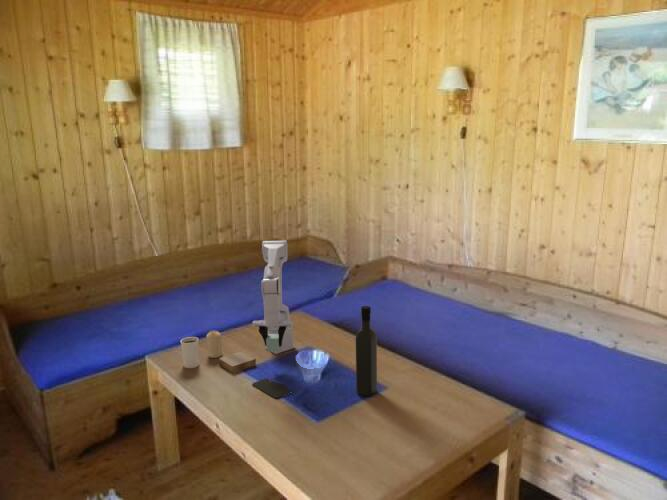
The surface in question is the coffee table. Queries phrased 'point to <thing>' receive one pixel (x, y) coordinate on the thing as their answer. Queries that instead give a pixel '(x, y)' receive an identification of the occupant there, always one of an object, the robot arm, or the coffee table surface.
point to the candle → (214, 344)
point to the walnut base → (237, 361)
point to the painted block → (272, 343)
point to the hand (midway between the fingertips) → (273, 345)
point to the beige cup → (190, 352)
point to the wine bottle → (366, 356)
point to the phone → (272, 388)
